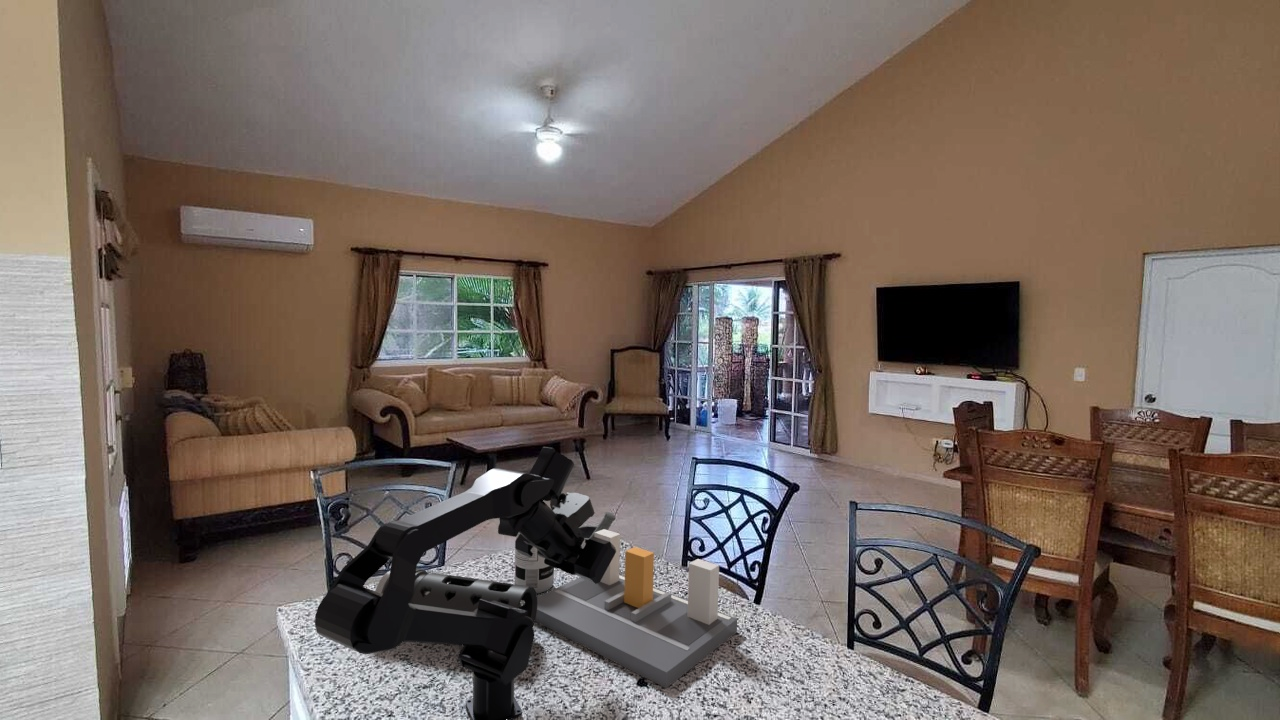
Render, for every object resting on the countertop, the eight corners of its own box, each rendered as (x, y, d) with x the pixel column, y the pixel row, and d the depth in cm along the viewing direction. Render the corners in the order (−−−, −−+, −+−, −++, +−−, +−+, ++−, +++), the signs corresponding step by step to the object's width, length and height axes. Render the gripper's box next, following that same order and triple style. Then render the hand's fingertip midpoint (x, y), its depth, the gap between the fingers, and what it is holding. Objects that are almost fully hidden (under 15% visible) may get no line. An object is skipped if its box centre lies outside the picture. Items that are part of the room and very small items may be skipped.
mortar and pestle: (563, 566, 130) (564, 516, 130) (573, 551, 140) (574, 504, 139) (611, 570, 129) (612, 519, 129) (617, 554, 138) (618, 507, 138)
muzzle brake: (513, 661, 92) (514, 599, 92) (369, 635, 99) (369, 577, 99) (537, 632, 101) (538, 576, 101) (404, 610, 108) (405, 557, 108)
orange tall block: (642, 610, 105) (644, 557, 104) (624, 602, 107) (625, 551, 107) (652, 604, 107) (653, 552, 107) (634, 596, 110) (635, 546, 109)
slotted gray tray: (666, 688, 86) (668, 608, 85) (523, 615, 107) (524, 551, 107) (736, 632, 103) (738, 565, 102) (601, 578, 124) (602, 523, 124)
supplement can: (510, 582, 121) (511, 514, 121) (547, 576, 125) (549, 510, 124) (519, 598, 114) (520, 525, 114) (558, 591, 118) (559, 521, 117)
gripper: (609, 492, 85) (651, 544, 94) (529, 471, 97) (574, 519, 106) (571, 558, 79) (620, 606, 88) (490, 528, 91) (541, 573, 100)
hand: (587, 572), depth 96 cm, fingers closed
